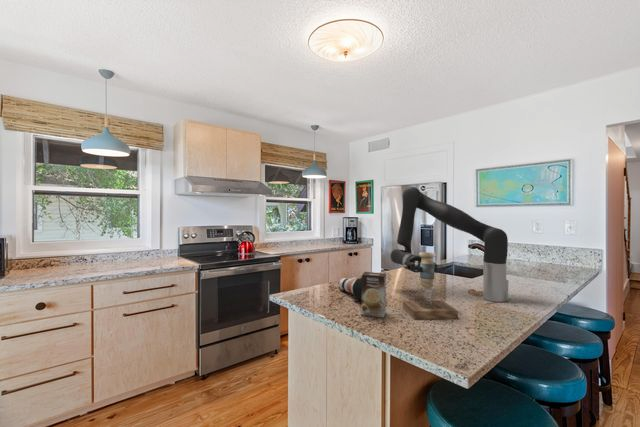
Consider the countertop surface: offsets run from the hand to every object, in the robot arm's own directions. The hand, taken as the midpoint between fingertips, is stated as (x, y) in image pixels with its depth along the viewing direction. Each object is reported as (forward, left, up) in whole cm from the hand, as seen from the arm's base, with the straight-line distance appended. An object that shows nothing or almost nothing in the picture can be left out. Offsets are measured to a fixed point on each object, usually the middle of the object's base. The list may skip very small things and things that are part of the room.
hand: (428, 269), depth 120 cm
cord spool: (0, -2, -7) cm, 8 cm away
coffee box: (+22, 0, -18) cm, 28 cm away
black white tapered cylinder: (+25, -27, -18) cm, 41 cm away
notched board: (0, 0, -17) cm, 17 cm away
